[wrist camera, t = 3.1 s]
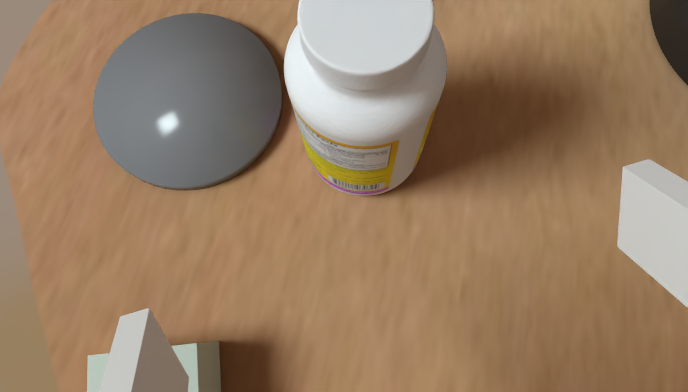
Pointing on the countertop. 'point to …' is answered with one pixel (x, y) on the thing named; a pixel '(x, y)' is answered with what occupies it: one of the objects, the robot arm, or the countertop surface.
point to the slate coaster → (188, 101)
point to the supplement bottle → (365, 88)
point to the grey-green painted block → (194, 358)
